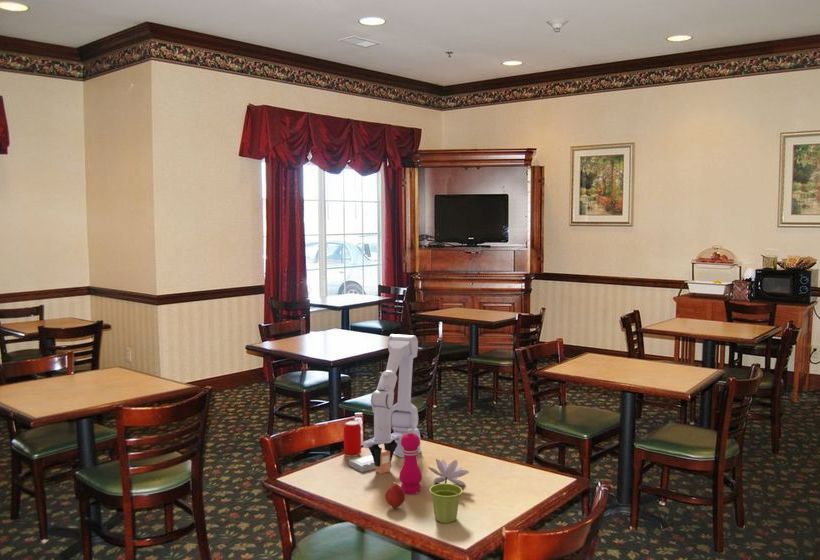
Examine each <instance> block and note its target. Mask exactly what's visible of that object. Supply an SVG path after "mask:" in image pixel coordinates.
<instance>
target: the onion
mask: <svg viewBox="0 0 820 560" xmlns="http://www.w3.org/2000/svg"><path fill="white" fill-rule="evenodd" d="M384 496H385V497H384V498H385V502H386V503H387V504H388V505H389V506H390V507H391V508H392V509H396V510H397V509H398V508H399V507H400V506H402V505H403V503H404V501H405V500H406V499H405V498H406V494H405V493H404V490H403V489H402V488H401V485H398V484H397V482H392V483H391V485H390V486H389V487H388V488H387V490H386V491H385V494H384Z"/></svg>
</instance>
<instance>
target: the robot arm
mask: <svg viewBox="0 0 820 560" xmlns="http://www.w3.org/2000/svg"><path fill="white" fill-rule="evenodd" d="M418 348H419V340H418V338H417V336H416V335H414V334H413V335H411V334H410V335H409V334H394V333H391V334H390V335H389V336H388V339H387V349H388V352H389V355H388V361H387V364H386V368H385V370H384V371H383V372H381V375H380V377H379V381H378V384H377V386H376V390H375V391H373V392H372V393H371V396H370V397H371V398H370V404H371V409H372V413H373V431H374V432H373V433H374V434H373V437H372V438H370V439H368V440H364V441H363V443H362V445H363V448H365V449H369V451H370V453H371V454H370V455H372V456H373V459H374V463H375V466H377V467H380V456H381V451H382V450H383V448H382V447H380V445H383V446H384V449H386V450H389V451H390V464H392V461H393V460H392V459H393V455H395V456H398V457H399V458H404V454H403V447H402V445H401V439H402V437H403V436H404V435H405V434H407V433H408V429H412V430H413V433H414V434H416V435H417V436H418V437H419V439H420V440H421V431H420V430H419V428H418V426H419V425H418V424H419V414H418V413H419V411H418V410H419V409H418V408H417V407H416V406H415V405H414V404H413V403H412V401H411V400H412V385H413V384H412V383H413V380H412V379H413V367H414V366H413V364H414V359H415V358H417V357H418ZM397 371H398V376H397ZM397 380H398V381H397ZM397 382H398V384H396V383H397ZM396 385H398V386H397V402H396V403H395V404H394V399H395V398H394V396H395V391H394V390H395V388H396ZM392 430H393V434H392V433H391V432H392ZM422 452H423V451H422V450H421V444H420V445H419V446H418V454H420V453H422Z"/></svg>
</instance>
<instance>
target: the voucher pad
mask: <svg viewBox="0 0 820 560" xmlns="http://www.w3.org/2000/svg"><path fill="white" fill-rule="evenodd" d="M391 464H392V463H391ZM391 464H390V466H391ZM351 466H352V468H353V467H354V468H353V469H356V470H357V471H359V472H361V473H364V471H365V472H368V470H369V471H371V470H372V469H373V470H376V466H375V463H374V459H373V456H372V454H368V455H366V456H361V457H357V458H353V459H350V460H349V467H351Z"/></svg>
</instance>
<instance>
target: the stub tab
mask: <svg viewBox="0 0 820 560" xmlns="http://www.w3.org/2000/svg"><path fill="white" fill-rule="evenodd" d="M375 472H376V473H378V474H380V475H382V474H386V473H388V472H391V465H390V451H389V450H386V449H385V448H382V451H381V456H380V467H377V466H376V469H375Z"/></svg>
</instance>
